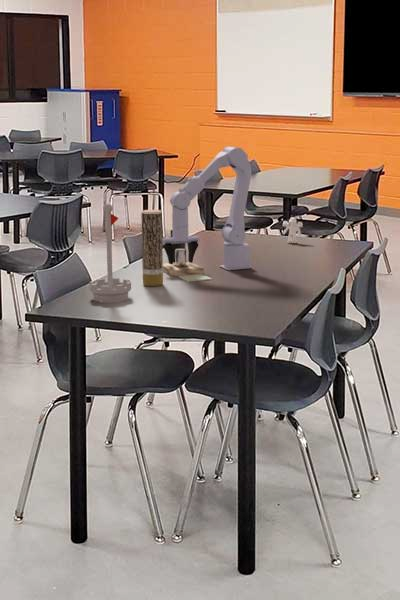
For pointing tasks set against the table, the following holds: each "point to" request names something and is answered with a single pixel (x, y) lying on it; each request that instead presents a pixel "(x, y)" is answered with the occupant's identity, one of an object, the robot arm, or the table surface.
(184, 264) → the clear glass cup
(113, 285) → the flag stand
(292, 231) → the hat wearing toy figure
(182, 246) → the supplement bottle
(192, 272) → the plate
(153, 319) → the table surface
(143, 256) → the paper tube
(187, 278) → the sage mat
